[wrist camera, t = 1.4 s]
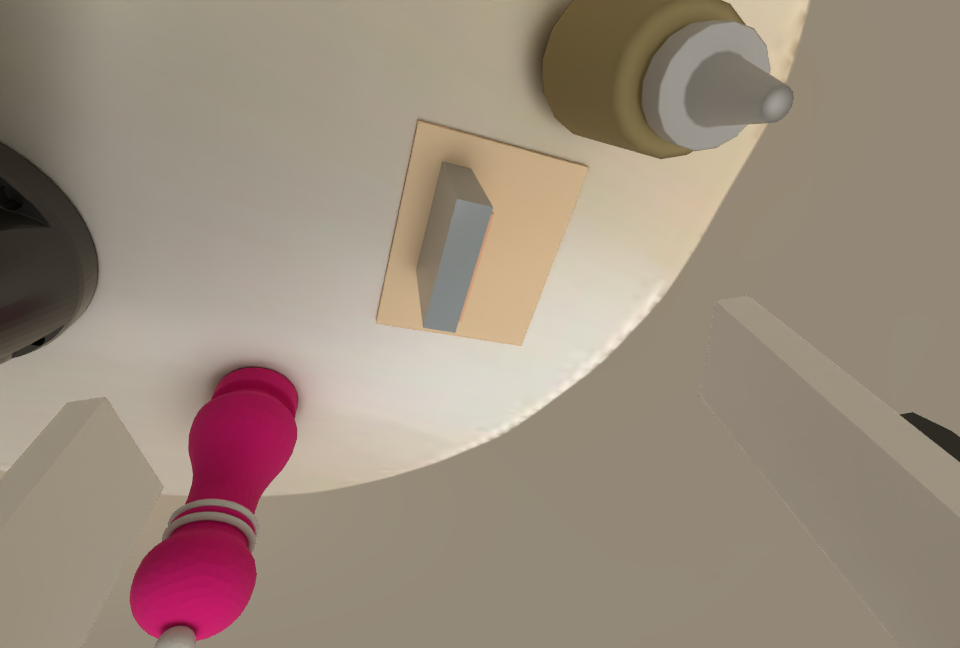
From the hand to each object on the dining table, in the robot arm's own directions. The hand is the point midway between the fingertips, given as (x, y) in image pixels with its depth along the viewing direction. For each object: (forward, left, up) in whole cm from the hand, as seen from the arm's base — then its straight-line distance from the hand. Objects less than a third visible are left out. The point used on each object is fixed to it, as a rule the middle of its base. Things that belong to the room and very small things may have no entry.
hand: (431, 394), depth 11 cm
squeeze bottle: (+10, +8, -25) cm, 28 cm away
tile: (+4, -4, -25) cm, 25 cm away
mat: (+7, -6, -25) cm, 27 cm away
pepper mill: (-7, -22, -25) cm, 34 cm away
